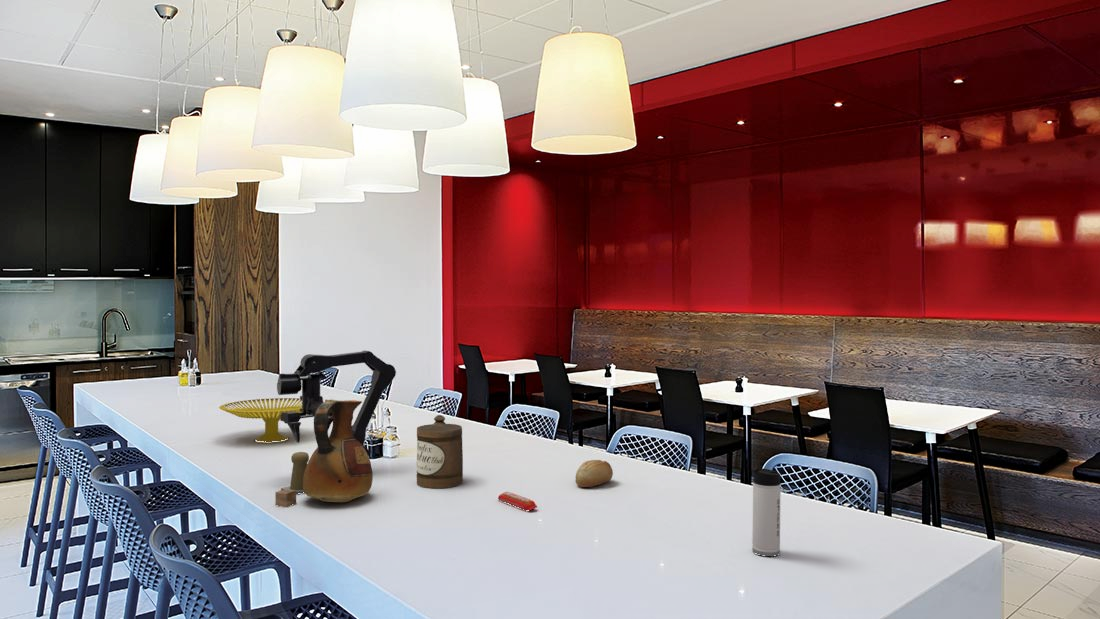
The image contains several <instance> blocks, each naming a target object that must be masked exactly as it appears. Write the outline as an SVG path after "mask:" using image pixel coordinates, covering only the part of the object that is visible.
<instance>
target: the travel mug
mask: <svg viewBox="0 0 1100 619" xmlns="http://www.w3.org/2000/svg"><path fill="white" fill-rule="evenodd" d="M751 472H752V473H753V481H752V484H753V485H752V546H751V547H752V548H751V549H752V550H753V551H752V552H753V553H754V552H755V553H757V554H760V555H765V556H774V555H778V554H779V553H781V485H782V484H781V474H780V473H779V472H777V471H775V470H772V469H768V468H761V467H756V468H755V467H753V468H752V469H751ZM755 553H754V554H755ZM757 554H756V555H757ZM779 555H780V554H779ZM779 555H778V556H779Z"/></svg>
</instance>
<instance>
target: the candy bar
mask: <svg viewBox="0 0 1100 619" xmlns="http://www.w3.org/2000/svg"><path fill="white" fill-rule="evenodd" d="M497 499H498V500H501V501H503V502H506V503H509V504H511V505H514V506H516V507H519V508H521V509H524V510H529V511H530V510H531V511H533V510H535V509H536V508H538V506H537V504H536V502H535V501H534V500H533V499H532V500H531V499H530V498H528V497H523V496H522V495H518V494H515V493H514V492H511V491H510V492H509V491H505V492H502V493H500V494H499V495H498V498H497ZM521 509H520V510H521ZM532 509H533V510H532ZM531 511H530V512H531Z"/></svg>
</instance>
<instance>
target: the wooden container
mask: <svg viewBox="0 0 1100 619" xmlns="http://www.w3.org/2000/svg"><path fill="white" fill-rule="evenodd" d="M433 420H434V422H433V423H431V424H423V425H420V426H417V427H416V439H417V440H416V485H417V486H419V487H421V488H425V487H426V489H447V488H446V487H450V488H454V487H457V485H458V486H460V485H461V483H462V484H463V482H464V472H463V470H464V462H463V461H464V457H463V455H464V454H463V426H462V425H460V424H455V423H446V422H445V420H446V418H445V416H444V415H443V414H442V415H441V414H437V415H436V416H435V417H434V418H433ZM459 484H460V485H459ZM453 486H454V487H453Z"/></svg>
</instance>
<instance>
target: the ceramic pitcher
mask: <svg viewBox="0 0 1100 619" xmlns="http://www.w3.org/2000/svg"><path fill="white" fill-rule="evenodd" d="M323 402H324V403H323V404H321V405H320V406H319V407H318V409H317V410H316V412H315V415H314V417H313V432H314V436H315V441H316V445H317V447H316V449H315V450H314V451H313V452H312V453H311V454H312V455H311V456H310V457H309V460H308V462H307V466H306V469H305V471H304V475H303V490H304V493H303V494H305V495H306V496H307V497H310V498H312V499H316V500H317V499H318V500H320V501H321V502H326V503H327V502H330V503H331V502H332V503H348V502H351V501H352V500H354V499H357V498H359V497H362V496H365V495H366V494H368V493H369V492H370V490H371V489H372V485H373V479H374V478H373V477H374V476H373V475H374V474H373V468H372V462H371V459H370V455H369V456H368V454H367V452H366V450H365V449H364V447H363V446H362V445H361V443H360V442H359V441H357V440H356V439H355V438H354V435H353V432H352V425H353V419H354V413H355V410H356V409H357V408H358V407H359V406H360V405H361V404H363V401H362V400H356V399H355V400H353V399H352V400H351V399H350V400H349V399H348V400H336V399H333V398H331V399H325V400H324V401H323ZM330 409H331V411H332V416H333V422H332V426H331V431H330V434H329V430H328V429H327V420H328V415H329V411H330Z"/></svg>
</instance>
